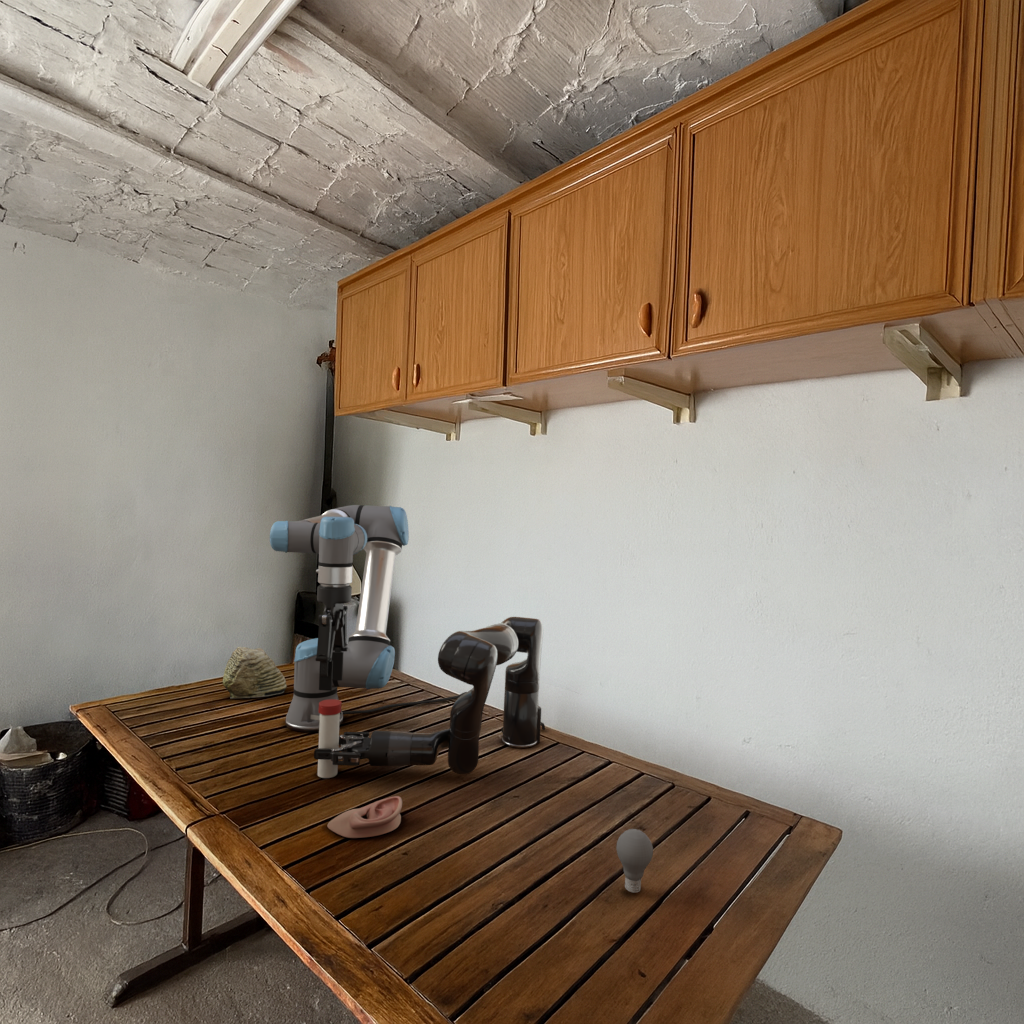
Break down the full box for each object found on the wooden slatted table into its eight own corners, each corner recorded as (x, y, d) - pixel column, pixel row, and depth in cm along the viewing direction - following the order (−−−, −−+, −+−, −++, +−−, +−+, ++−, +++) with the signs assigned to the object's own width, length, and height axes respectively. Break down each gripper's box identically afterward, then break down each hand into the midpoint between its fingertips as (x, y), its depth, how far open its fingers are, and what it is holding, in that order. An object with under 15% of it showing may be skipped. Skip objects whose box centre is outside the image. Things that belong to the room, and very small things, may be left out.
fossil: (218, 695, 195) (220, 647, 195) (278, 685, 208) (279, 640, 207) (228, 703, 189) (230, 653, 188) (289, 692, 201) (290, 645, 201)
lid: (321, 716, 141) (321, 707, 141) (316, 709, 146) (316, 700, 146) (343, 713, 144) (343, 704, 143) (338, 706, 148) (338, 698, 148)
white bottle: (319, 779, 142) (322, 708, 142) (315, 771, 146) (318, 702, 145) (339, 776, 144) (342, 706, 144) (335, 768, 148) (337, 700, 147)
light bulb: (610, 879, 108) (613, 822, 108) (644, 879, 109) (647, 822, 109) (619, 902, 102) (622, 840, 102) (655, 901, 103) (658, 840, 103)
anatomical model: (320, 812, 119) (347, 786, 130) (319, 833, 119) (347, 805, 130) (386, 822, 116) (408, 795, 127) (385, 844, 116) (408, 814, 128)
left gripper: (332, 578, 154) (328, 672, 155) (302, 589, 134) (298, 697, 135) (362, 579, 154) (359, 673, 154) (337, 591, 134) (333, 699, 134)
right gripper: (396, 721, 153) (326, 720, 152) (388, 744, 138) (311, 743, 137) (394, 752, 153) (325, 751, 152) (386, 778, 139) (309, 777, 137)
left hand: (331, 684), depth 144 cm, fingers open, 7 cm apart
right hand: (318, 747), depth 145 cm, fingers open, 7 cm apart
